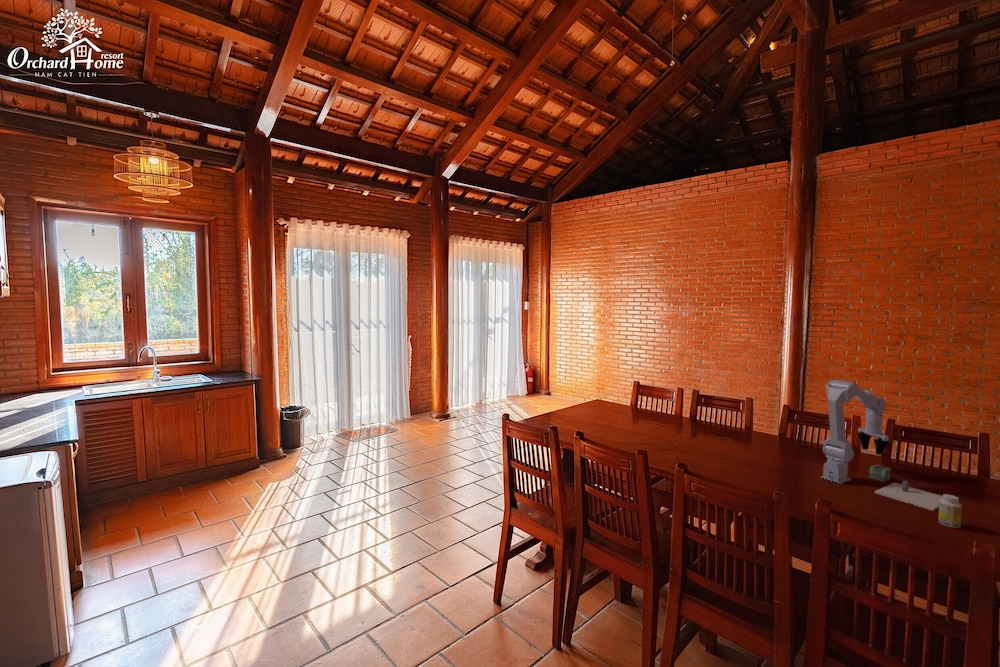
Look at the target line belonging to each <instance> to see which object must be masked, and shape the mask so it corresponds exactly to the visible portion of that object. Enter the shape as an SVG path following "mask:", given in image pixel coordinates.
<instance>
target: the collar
mask: <svg viewBox="0 0 1000 667" xmlns="http://www.w3.org/2000/svg"><path fill="white" fill-rule="evenodd" d="M868 474H869V475H868V478H869V479H872V480H875V479H876V481H879V480H880V481H879V482H882V481H883V483H885V481H886V482H888V481H890V480H891V468H889V467H885V466H882V465H879V464H874V465H871V466H869V473H868Z"/></svg>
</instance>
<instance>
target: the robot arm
mask: <svg viewBox="0 0 1000 667" xmlns="http://www.w3.org/2000/svg"><path fill="white" fill-rule="evenodd" d="M825 388H826V399H828V401H827V403H828V414H829V415H828V418H829V419H828V420H829V433H830V436H829V437H828V438H826V439H825V440H823V447H822V453H823V454H824V455H825V458H827V461H825V463H823V468H822V469H823V471H822V476H820V479H822V478H824V480H826V479H827V481H829V480H830V481H829V482H832V481H834V483H835V482H837V483H836V484H839V483H840V485H842V484H845V483H847V481H848V482H849V481H852V478H850V477H848V467H849V462H851V461H852V460H853V458H854V455H855V451H854V450H853V446H852V443H851V442H850V441H849V440H848V439H846V426H845V408H844V404H847V403H849V402H850V401H852V400H853V399H854V398H855V397H856V400H857V401H859V402H860V404H861V403H862V405H863V407H864V409H865V408H866V409H865V411H866V412H865V427H858V428H857V429H858V431H857V432H858V433H856V436H857V437H858V439H859V441H860V444H861V448H862V450H869V448H870V441H871V438H872V437H873V442H874V446H875V455H876V456H878V455H879V456H880V455H883V452H884V450H885V448H886V447H887V446H888V445H889V444H890V440H889V436H888V435H886V434H884V432H882V427H883V426H882V423H883V415H884V414H885V409H886V406H887V403H886V400H885V399H884V398H882V397H877V396H876V394H873V393H872V392H871V391H870V390H868V389H866V390H863V389H862V388H861V387H860V385H859V384H858V383H856V381H855V382H854V381H853V382H852V381H844V380H836V379H834V378H831V379H830V380H829V381H828V382H827V384H826V385H825ZM844 482H845V483H844Z"/></svg>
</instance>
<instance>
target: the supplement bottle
mask: <svg viewBox="0 0 1000 667" xmlns="http://www.w3.org/2000/svg"><path fill="white" fill-rule="evenodd" d="M942 496H943V499H941V500H940V501H939V508H938V523H939V524H941V525H942V526H944V527H949V528H953V529H958V528H960V527H961V525H962V523H961V522H962V510H963V509H962V508H963V505H962V504H961V503H960V502H959V501H960V498H959V497H957V496H956V495H952V494H948V493H945V494H942Z"/></svg>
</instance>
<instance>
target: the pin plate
mask: <svg viewBox="0 0 1000 667" xmlns="http://www.w3.org/2000/svg"><path fill="white" fill-rule="evenodd" d="M909 483H910V482H909V481H907V480H902V484H901V483H897V482H893V483H890V484H887V485H886V486H883V487H881V488H878V489H876V490H875V491H874V494H876V495H880V496H883V497H887V498H890V499H893V500H896V501H899V502H903V503H907V504H909V503H910V505H912V504H913V506H916V507H918V508H919V507H920V508H923V509H926V510H929V511H936V510H938V509H939V501H940V500H941V499H943V495H940V494H937V493H932V492H929V491H926V490H922V489H918V488H915V487H912V486H909Z"/></svg>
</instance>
